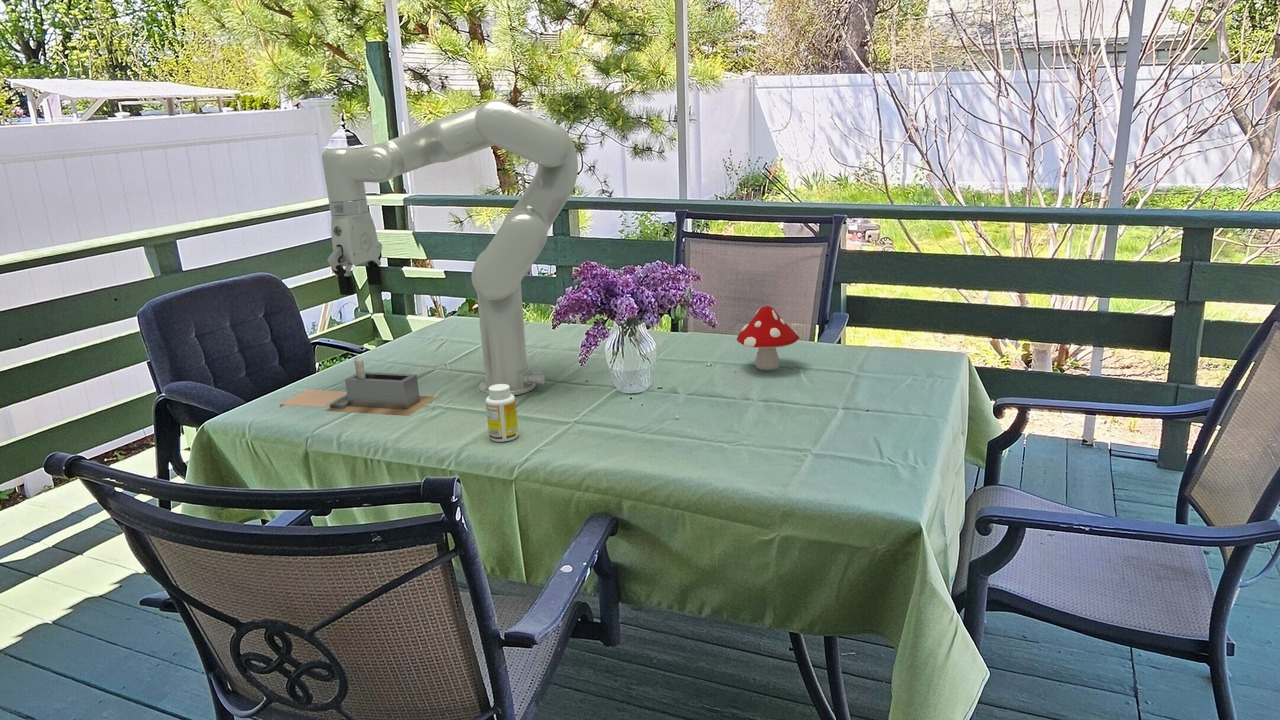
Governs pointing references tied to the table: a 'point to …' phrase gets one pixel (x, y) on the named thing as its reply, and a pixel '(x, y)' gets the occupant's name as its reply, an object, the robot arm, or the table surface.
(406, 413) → the post block
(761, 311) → the decorative mushroom
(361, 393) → the steel link
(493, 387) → the supplement bottle
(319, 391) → the terracotta tile
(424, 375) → the table surface
